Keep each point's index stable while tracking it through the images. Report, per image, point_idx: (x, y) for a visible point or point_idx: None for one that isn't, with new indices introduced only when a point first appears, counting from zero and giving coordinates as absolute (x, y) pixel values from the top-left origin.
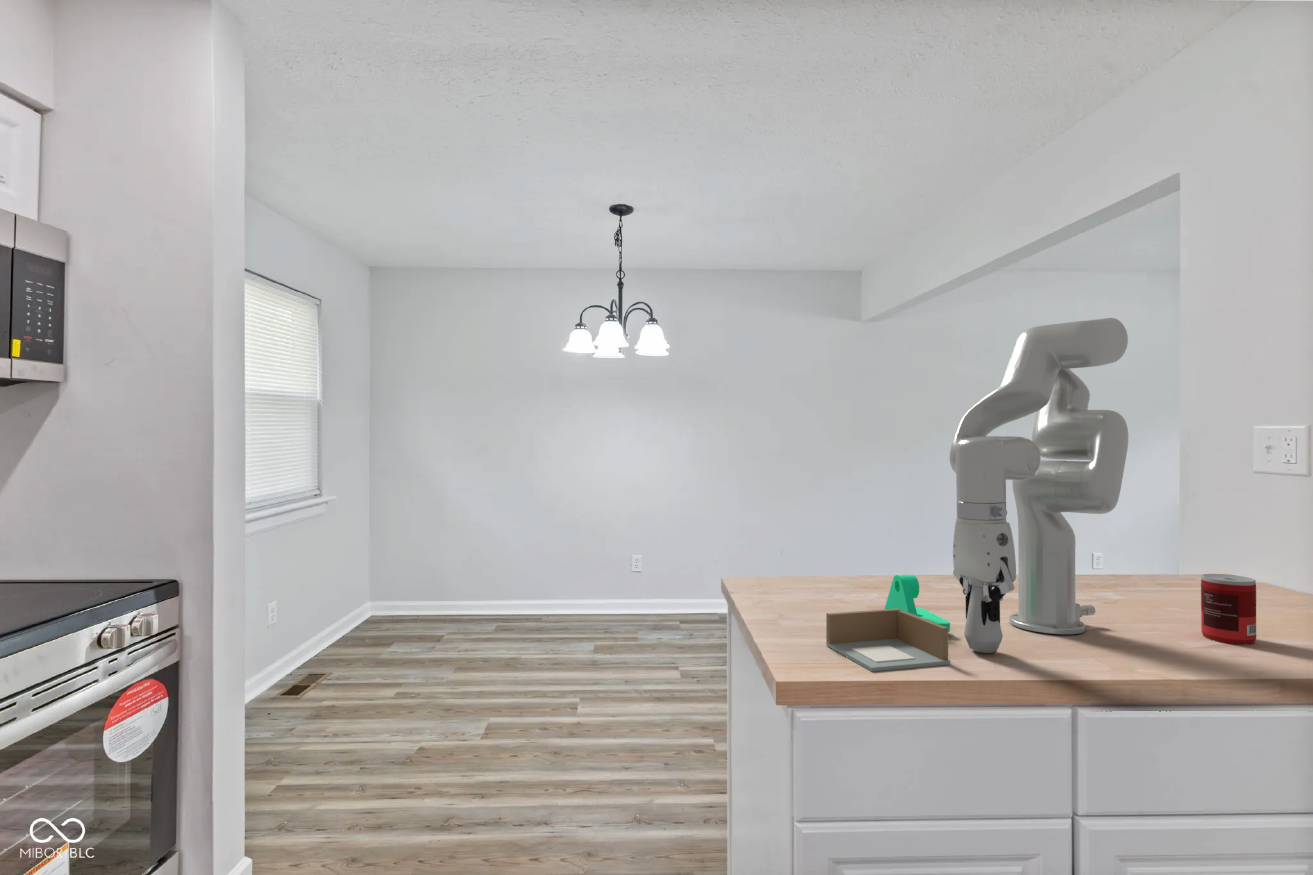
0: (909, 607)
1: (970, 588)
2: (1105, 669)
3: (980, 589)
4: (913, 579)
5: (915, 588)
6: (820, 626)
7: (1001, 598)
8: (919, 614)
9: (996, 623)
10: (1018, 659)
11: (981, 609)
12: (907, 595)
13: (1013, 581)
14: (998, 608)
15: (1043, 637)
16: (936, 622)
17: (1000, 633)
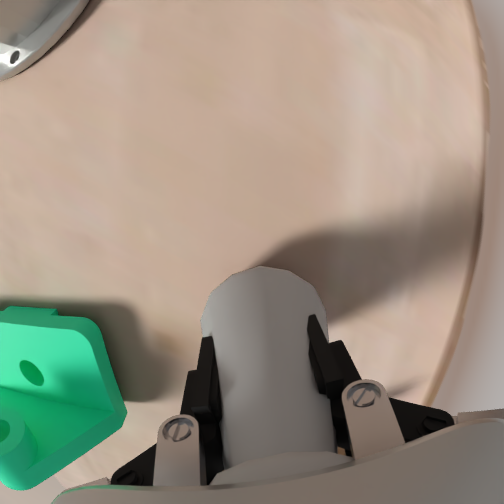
0: (87, 447)
1: (208, 477)
2: (424, 55)
3: None
4: (7, 464)
5: (26, 450)
6: (95, 480)
7: (392, 398)
8: (19, 361)
9: (323, 332)
10: (338, 233)
11: None
12: (59, 462)
13: (486, 419)
14: (356, 370)
15: (107, 30)
16: (88, 367)
17: (316, 298)
